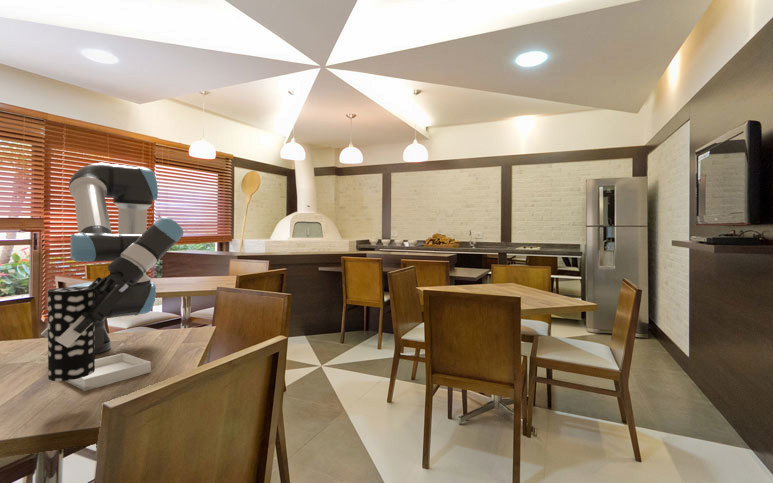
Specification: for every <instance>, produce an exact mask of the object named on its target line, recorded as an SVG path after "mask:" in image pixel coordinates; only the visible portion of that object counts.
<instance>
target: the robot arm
mask: <svg viewBox="0 0 773 483" xmlns="http://www.w3.org/2000/svg"><path fill="white" fill-rule="evenodd" d="M155 174H156V173H154V171H153V170H152V169H151V168H148V167H147V168H146V167H142V166H133V165H124V164H115V163H114V164H113V163H112V164H111V163H107V162H98V163H97V162H96V163H95V162H94V163H91V164H88V165H85V166H83V167H81V168H79V169H78V170H77V171H76V172H74V174H73V175H71V178H70V179H69V183H68V191H69V194H70V196H71V197H72V198H73V199H74V207H75V215H76V226H77V233H73V234H71V235H70V238H69V239H70V245H69V247H70V248H69V249H70V252H69V253H70V259H71V260H73V262H89V263H92V262H107V261H108V262H111V261H112V262H111V263H110V264H108V266H107V270H108V271H109V274H108V275H106V276H105V277H103V278H102V277H99V276H98V277H96V279H94V281H91V282H82V283H77V284H73V285H72V284H71V285H69V286H68V287H94V296H95V302H94V303H93V305H92V306H91V307H90V309H89V310H88V312H84V313H82V314H81V315H83V316H84V317H86V318H84V317H83V316H81V317H80V318H79V319H77V320H76V321H75V322H74V323H73V324H72V325H71V326H70V327H69V328H68V329H67V330H66V331H65V332H64V333H63V334H62V335H61V336H60V337H59V338H58V339H57V340H56V341H57V342H59V343H60V344H62V345H64V346H66V347H67V348H68V347H69V346H70V345H71V344H72V343H73V342H74V341H75V340H76V339H77V338H78V337H79V336H80V335H81V334H82V333H83V332H84V331H85V330H86V329H87V328H88V327H89V326H90V325H91V324H92V322H93V323H95V355H97V354H101V353H104V352H106V351H109V350H110V349H111V348H112V343H111V338H110V336H109V334H108V332H107V329H106V327H105V326H106V324H105V320H106V319H111V318H121V317H129V316H130V317H131V316H138V315H144V314H145V315H146V314H148V313H150V312H151V310H153V307H154V304H155V301H156V293H157V292H156V287H157V286H156V284H155V282H154V281H151V277H150V276H149V275H147V272H149V271H150V269H153V268H154V267H155V266H154V265H155V264H156V263H157V262H159V260H160V259H161V258H163V256H165V254H167V252H169V250H171V248H173V246H174V245H175V244H177V243H178V242H179V240H180V239H181V238H182V237H183V236H184V230H183V228H182V227H181V225H180V224H179V223H178V222H176V221H175V220H173V219H171V218H169V217H167V216H162V217H160V218H158V220H156V221H155V222H153V224H152V225H151V226H149V228H148V227H147V225H148V210H149V209H150V208H151V207H152V206H153V202H154V201H157V200H158V198H159V197H158V194H159V188H158V181H157V178H156V175H155ZM105 198H110V199H113V200H112V202H113V203H112V204H113V205H115V206H116V207H117V209H118V214H117V216H118V218H117V219H118V220H117V221H118V222H117V225H118V227H117V231H118V232H117V233H113V231H112V230H113V229H112V227H111V221H110V217H109V216H110V215H109V212H108V208H107V202H106V201H107V200H106V199H105ZM40 335H41V336H43V337H44V338H46V339H48V326H47V327H46V328H45V329H44V330H43V331H42V332H41V333H40Z"/></svg>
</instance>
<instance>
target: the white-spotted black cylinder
mask: <svg viewBox="0 0 773 483" xmlns="http://www.w3.org/2000/svg"><path fill="white" fill-rule="evenodd" d="M94 302H95V296H94V287H69V286H66V287H58V288H53V289H48V290H47V327H48V338H47V356H48V357H47V358H48V359H47V360H48V361H47V363H48V364H47V369H48V371H47V372H48V374H47V375H48V378H47V380H49V381H50V382H51V381H52V382H66V381H68V380H74V379H78V378H82V377H85V376H88V375H90V374H92V373H93V372H94V371H95V359H96V358H95V357H96V356H95V355H96V354H95V323H93V322H92V324H91V325H90V326H89V327H88V328H87V329H86V330H85V331H84V332H83V333H82V334H81V335H80V336H79V337H78V338H77V339H76V340H75V341H74V342H73V343H72V344H71V345H70V346H69V347H68V348H67V347H66V346H64V345H62V344H60V343H59V342H57V341H56V340H57V339H58V338H59V337H60V336H61V335H62V334H63V333H64V332H65V331H66V330H67V329H68V328H69V327H70V326H71V325H72V324H73V323H74V322H75V321H76V320H77V319H79V318H80V317H81V316H83V315H81V314H82V313H84V312H88V310H89V309H90V307H91V306H92V305H93V303H94ZM83 317H84V316H83ZM84 318H86V317H84Z"/></svg>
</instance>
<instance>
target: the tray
mask: <svg viewBox="0 0 773 483" xmlns="http://www.w3.org/2000/svg"><path fill="white" fill-rule="evenodd" d="M150 373H152V362H151V361H149V360H146V359H143V358H140V357H138V356H135V355H132V354H129V353H127V352H126V353H125V352H123V353H118V354H113V355H109V356H105V357H100V358H95V371H94V372H93V373H92V374H90V375H88V376H85V377H82V378H78V379H74V380H68V381H65V382H66V383H68V384H70V385H72V386H74V387H75V388H78V389H80V390H81V391H84V392H85V391H90V390H94V389H97V388H101V387H104V386H107V385H111V384H114V383H119V382H122V381H124V380H129V379H132V378H136V377H138V376H142V375H146V374H150Z"/></svg>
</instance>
